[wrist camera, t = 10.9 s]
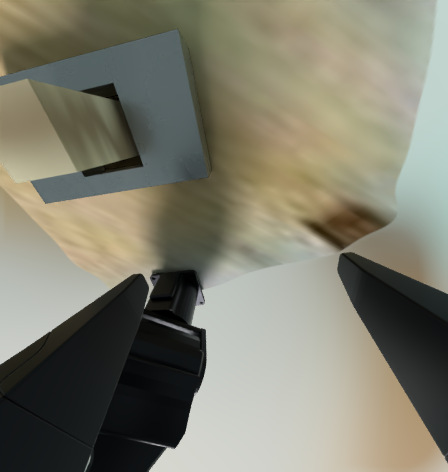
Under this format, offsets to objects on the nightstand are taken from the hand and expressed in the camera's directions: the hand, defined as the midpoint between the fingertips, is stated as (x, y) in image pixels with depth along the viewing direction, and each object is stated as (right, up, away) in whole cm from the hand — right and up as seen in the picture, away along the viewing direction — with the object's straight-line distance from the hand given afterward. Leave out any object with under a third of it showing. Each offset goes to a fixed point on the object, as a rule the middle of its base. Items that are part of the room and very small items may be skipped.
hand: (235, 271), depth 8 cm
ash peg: (-10, +11, +9) cm, 17 cm away
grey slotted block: (-10, +11, +9) cm, 17 cm away
